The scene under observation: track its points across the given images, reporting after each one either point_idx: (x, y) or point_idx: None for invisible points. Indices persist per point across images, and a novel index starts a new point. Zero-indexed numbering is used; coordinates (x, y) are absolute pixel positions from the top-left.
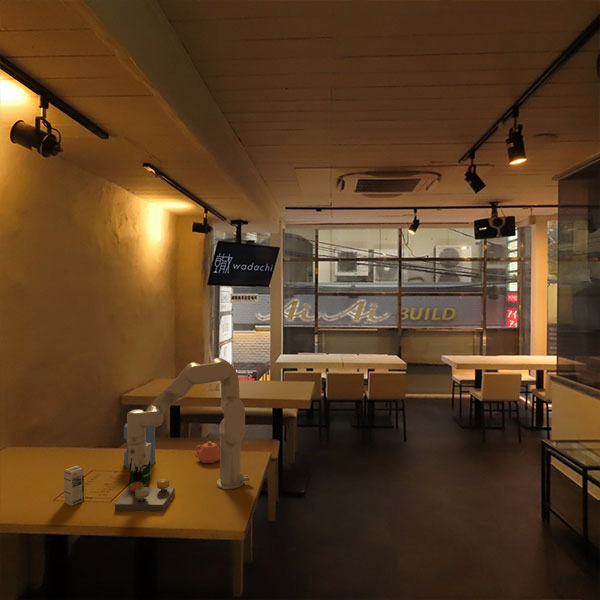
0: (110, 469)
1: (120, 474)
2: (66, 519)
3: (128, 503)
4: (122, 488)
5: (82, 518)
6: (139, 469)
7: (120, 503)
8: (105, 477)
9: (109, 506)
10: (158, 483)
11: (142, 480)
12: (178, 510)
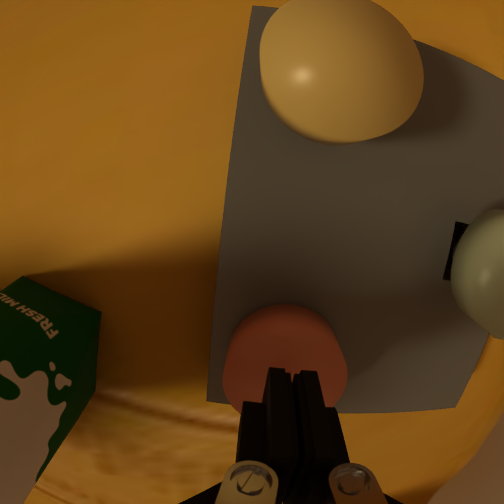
0: None
1: None
2: (423, 493)
3: (481, 335)
4: (143, 417)
5: (441, 462)
6: (358, 498)
7: (463, 381)
8: (57, 466)
9: (374, 425)
10: (407, 116)
11: (79, 332)
12: (478, 20)
